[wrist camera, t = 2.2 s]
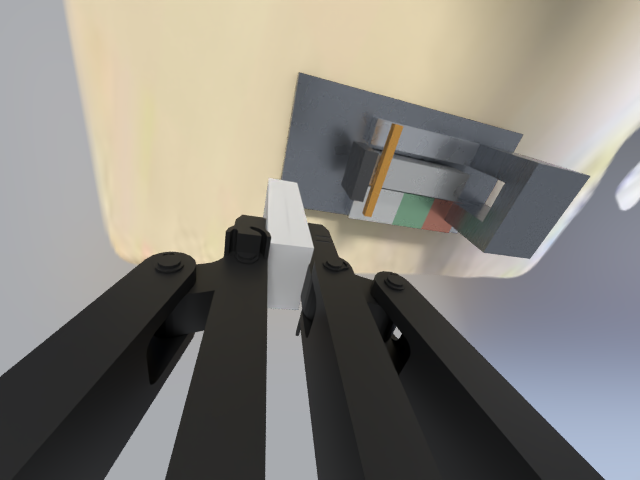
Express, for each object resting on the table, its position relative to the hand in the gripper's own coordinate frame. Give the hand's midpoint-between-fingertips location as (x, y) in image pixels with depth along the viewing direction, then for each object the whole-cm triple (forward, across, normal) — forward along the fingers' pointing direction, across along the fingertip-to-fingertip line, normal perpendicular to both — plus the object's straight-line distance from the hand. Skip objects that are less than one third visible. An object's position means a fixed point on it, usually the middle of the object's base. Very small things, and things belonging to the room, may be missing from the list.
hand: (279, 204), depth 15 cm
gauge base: (+16, +14, 0) cm, 21 cm away
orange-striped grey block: (+14, +14, 0) cm, 20 cm away
